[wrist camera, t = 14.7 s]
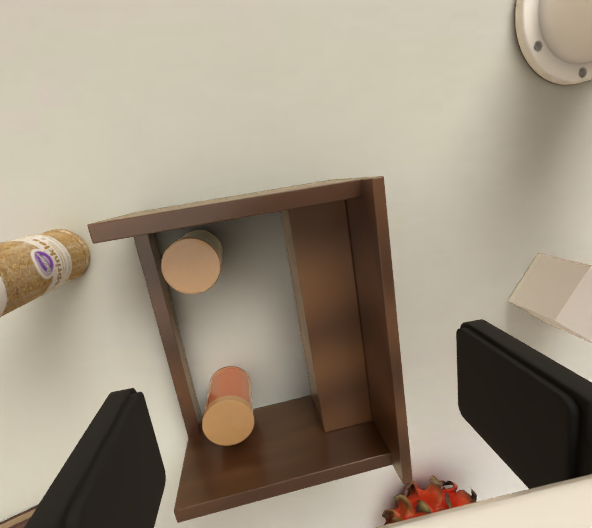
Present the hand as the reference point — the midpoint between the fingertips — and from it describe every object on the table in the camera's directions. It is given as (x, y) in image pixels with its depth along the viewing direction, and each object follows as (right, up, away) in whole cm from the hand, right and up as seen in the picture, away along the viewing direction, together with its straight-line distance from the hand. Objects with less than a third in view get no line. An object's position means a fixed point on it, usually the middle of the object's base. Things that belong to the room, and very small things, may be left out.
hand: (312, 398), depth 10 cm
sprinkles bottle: (-21, +5, +21) cm, 30 cm away
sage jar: (-9, +5, +22) cm, 25 cm away
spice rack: (-4, -1, +24) cm, 25 cm away
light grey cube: (+27, +1, +29) cm, 40 cm away
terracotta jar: (-7, -8, +26) cm, 28 cm away
